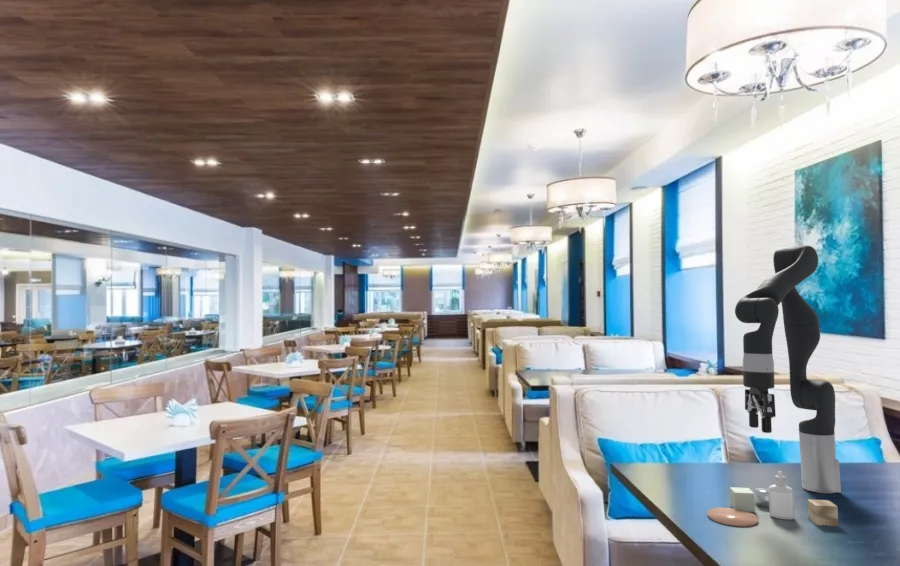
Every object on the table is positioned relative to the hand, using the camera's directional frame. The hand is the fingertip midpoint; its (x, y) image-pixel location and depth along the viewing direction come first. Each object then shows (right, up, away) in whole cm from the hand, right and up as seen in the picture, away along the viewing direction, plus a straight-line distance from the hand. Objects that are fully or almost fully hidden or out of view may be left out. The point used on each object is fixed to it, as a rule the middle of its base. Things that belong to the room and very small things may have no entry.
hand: (760, 429), depth 153 cm
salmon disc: (-10, -22, -5) cm, 25 cm away
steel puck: (+4, -23, +5) cm, 24 cm away
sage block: (-3, -23, +3) cm, 23 cm away
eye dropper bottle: (+3, -22, -5) cm, 23 cm away
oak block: (+12, -22, -8) cm, 26 cm away
